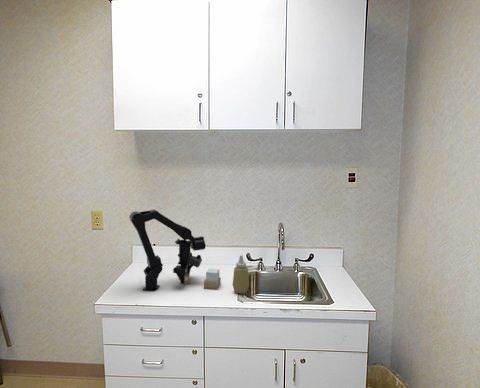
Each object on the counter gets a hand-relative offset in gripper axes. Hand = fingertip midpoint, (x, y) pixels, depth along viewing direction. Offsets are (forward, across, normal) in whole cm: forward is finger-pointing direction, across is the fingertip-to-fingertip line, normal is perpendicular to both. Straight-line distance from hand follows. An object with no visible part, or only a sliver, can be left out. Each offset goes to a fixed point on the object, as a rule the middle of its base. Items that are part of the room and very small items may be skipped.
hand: (185, 281), depth 186 cm
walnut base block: (+1, -2, -15) cm, 15 cm away
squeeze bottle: (+1, -6, -30) cm, 31 cm away
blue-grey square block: (-3, -2, -15) cm, 15 cm away
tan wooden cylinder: (+1, 0, 0) cm, 1 cm away
